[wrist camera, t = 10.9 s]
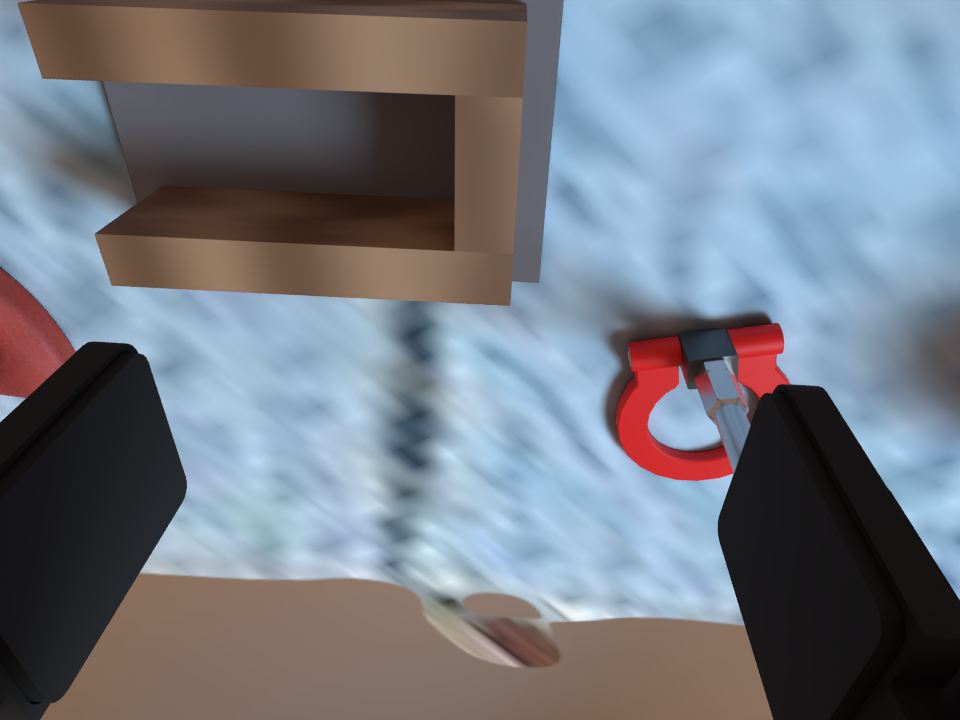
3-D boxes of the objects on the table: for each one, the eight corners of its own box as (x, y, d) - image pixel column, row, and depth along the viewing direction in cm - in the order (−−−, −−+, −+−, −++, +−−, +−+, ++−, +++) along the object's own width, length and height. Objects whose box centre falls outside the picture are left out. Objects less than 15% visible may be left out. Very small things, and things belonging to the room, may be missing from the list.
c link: (526, 4, 22) (527, 21, 18) (512, 247, 27) (509, 305, 23) (111, -11, 22) (17, 3, 18) (174, 231, 27) (111, 285, 23)
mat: (566, -45, 21) (567, -44, 21) (538, 277, 28) (538, 282, 28) (71, -62, 22) (62, -61, 21) (160, 258, 29) (154, 263, 28)
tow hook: (781, 456, 34) (796, 310, 28) (895, 709, 23) (953, 555, 18) (620, 472, 35) (606, 336, 30) (661, 718, 25) (650, 576, 19)
